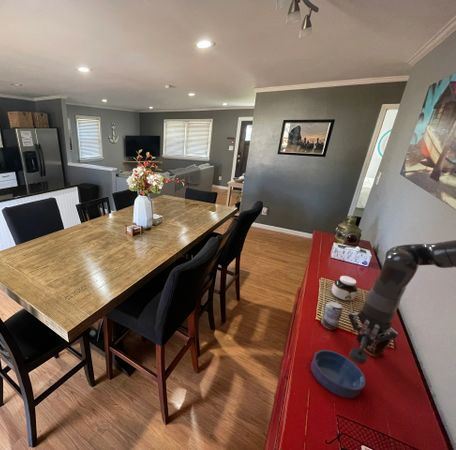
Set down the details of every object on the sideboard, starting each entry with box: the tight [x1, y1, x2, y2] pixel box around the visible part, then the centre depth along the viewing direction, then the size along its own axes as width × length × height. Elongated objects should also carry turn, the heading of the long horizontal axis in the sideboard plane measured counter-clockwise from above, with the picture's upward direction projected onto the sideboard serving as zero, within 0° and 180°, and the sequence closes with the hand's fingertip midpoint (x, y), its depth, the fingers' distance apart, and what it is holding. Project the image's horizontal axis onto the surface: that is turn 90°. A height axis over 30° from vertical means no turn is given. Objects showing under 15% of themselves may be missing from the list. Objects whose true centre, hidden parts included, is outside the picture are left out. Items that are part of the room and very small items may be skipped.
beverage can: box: [320, 301, 343, 330], centre depth 109 cm, size 6×7×12 cm
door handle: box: [348, 328, 370, 365], centre depth 85 cm, size 15×4×7 cm, turn 134°
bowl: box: [310, 349, 366, 399], centre depth 87 cm, size 15×15×5 cm
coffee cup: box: [363, 326, 395, 357], centre depth 97 cm, size 9×8×13 cm
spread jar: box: [331, 275, 358, 302], centre depth 130 cm, size 12×11×12 cm
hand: (362, 343), depth 84 cm, fingers closed on door handle, 1 cm apart
